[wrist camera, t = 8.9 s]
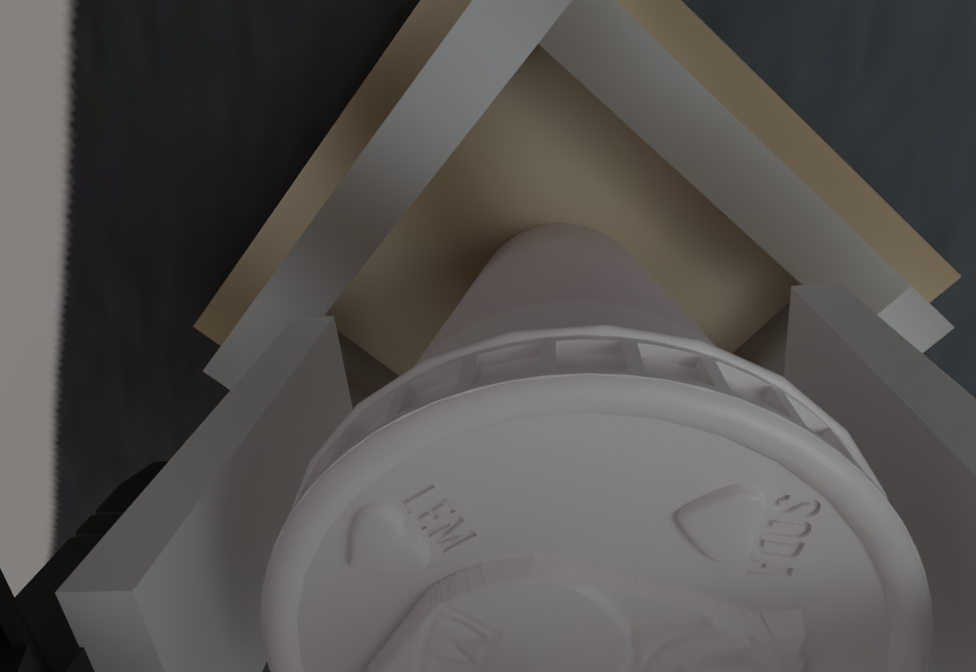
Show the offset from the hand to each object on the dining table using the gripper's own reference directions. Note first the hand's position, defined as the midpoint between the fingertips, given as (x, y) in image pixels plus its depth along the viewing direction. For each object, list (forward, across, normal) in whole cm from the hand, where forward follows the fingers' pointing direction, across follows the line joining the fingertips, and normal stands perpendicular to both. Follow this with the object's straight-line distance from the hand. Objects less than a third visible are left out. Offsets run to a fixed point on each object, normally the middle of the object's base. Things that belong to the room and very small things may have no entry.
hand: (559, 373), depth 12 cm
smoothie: (+4, 0, 0) cm, 4 cm away
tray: (+4, 0, 0) cm, 4 cm away
